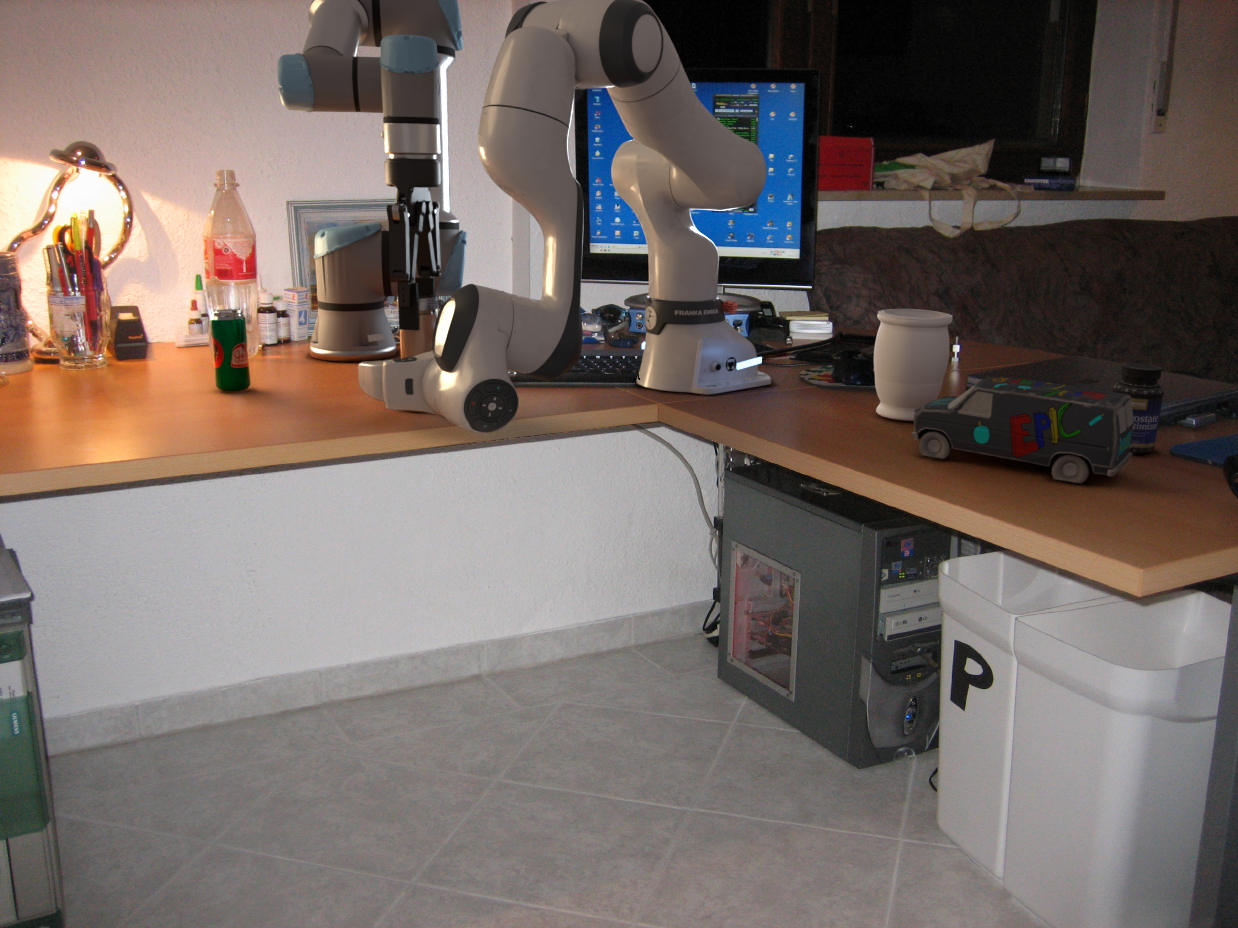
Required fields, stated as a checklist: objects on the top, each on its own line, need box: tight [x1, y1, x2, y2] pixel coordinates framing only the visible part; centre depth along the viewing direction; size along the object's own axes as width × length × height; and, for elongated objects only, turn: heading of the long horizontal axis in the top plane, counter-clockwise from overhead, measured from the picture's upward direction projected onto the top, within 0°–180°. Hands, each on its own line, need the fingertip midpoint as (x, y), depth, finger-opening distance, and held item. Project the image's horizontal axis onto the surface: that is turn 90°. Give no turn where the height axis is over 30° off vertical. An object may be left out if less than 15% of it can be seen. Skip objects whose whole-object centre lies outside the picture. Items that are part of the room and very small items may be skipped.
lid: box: [396, 294, 439, 311], centre depth 151 cm, size 6×6×2 cm
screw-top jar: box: [399, 310, 438, 413], centre depth 154 cm, size 5×5×16 cm
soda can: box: [209, 308, 251, 393], centre depth 163 cm, size 5×5×12 cm
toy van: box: [911, 376, 1135, 484], centre depth 132 cm, size 11×25×10 cm, turn 54°
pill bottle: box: [1111, 362, 1165, 455], centre depth 139 cm, size 6×6×11 cm
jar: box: [873, 308, 953, 422], centre depth 154 cm, size 11×10×15 cm
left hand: (418, 325), depth 152 cm, fingers closed on lid, 6 cm apart
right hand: (417, 363), depth 155 cm, fingers closed on screw-top jar, 5 cm apart
